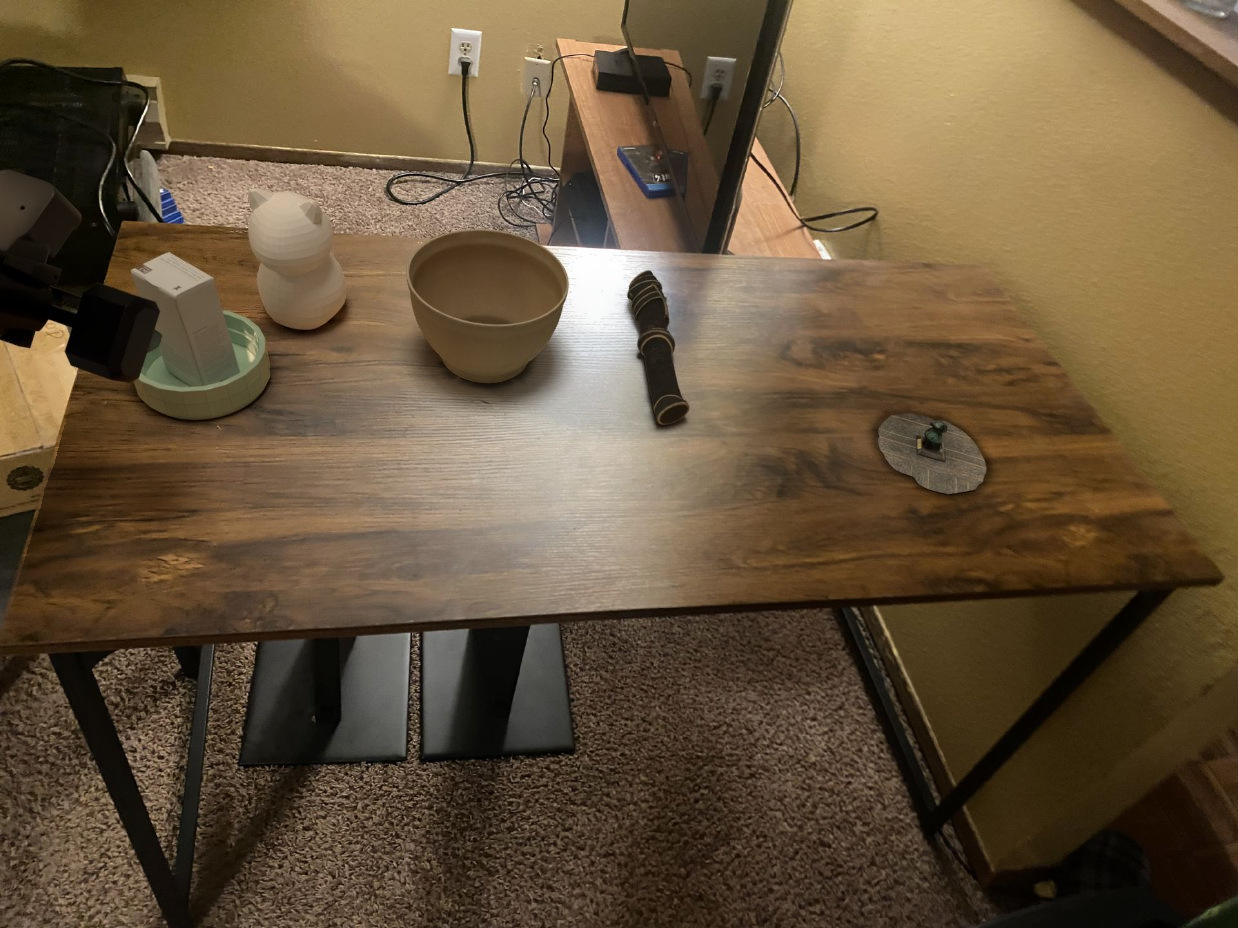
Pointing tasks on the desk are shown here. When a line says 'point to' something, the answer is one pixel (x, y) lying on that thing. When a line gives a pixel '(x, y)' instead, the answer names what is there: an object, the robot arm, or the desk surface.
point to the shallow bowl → (214, 398)
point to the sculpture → (932, 453)
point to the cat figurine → (295, 259)
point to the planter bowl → (486, 300)
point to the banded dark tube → (657, 347)
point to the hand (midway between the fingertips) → (109, 323)
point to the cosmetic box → (188, 320)
